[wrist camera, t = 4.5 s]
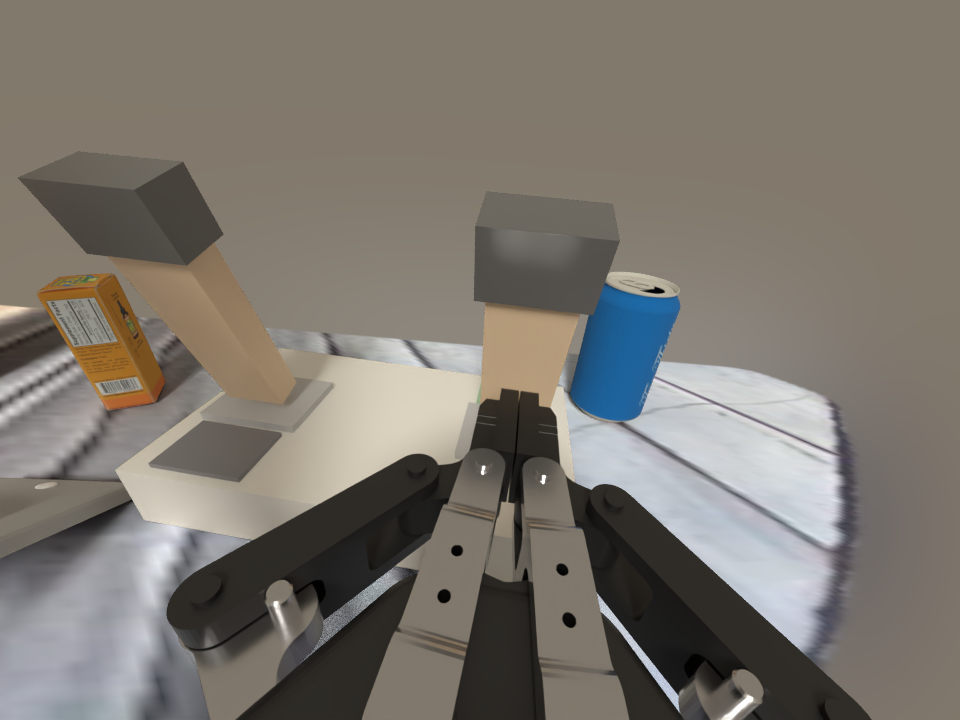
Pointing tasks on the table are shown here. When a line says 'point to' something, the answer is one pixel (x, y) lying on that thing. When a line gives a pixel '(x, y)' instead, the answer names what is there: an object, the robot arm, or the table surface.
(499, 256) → the tan lever
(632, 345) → the beverage can
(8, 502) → the light switch
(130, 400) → the supplement box
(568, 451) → the switch unit
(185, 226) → the lever charcoal
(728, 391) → the table surface
